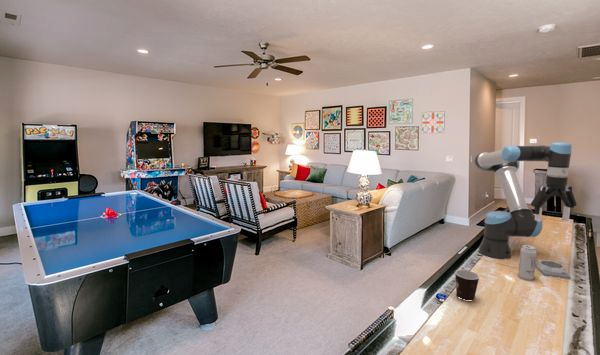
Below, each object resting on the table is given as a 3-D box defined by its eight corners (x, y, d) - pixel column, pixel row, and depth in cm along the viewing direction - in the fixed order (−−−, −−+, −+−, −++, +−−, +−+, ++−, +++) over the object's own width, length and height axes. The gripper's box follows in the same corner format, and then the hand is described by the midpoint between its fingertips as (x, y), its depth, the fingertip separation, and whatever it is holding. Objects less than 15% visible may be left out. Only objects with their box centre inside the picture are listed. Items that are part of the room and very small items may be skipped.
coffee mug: (455, 289, 132) (456, 267, 131) (478, 295, 127) (480, 273, 126) (450, 302, 123) (452, 278, 121) (475, 309, 118) (477, 284, 116)
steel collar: (542, 272, 146) (543, 267, 145) (533, 263, 156) (534, 258, 155) (569, 275, 142) (570, 270, 142) (558, 266, 152) (559, 261, 152)
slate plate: (544, 275, 144) (544, 273, 144) (532, 263, 157) (533, 261, 157) (570, 279, 141) (570, 277, 141) (556, 266, 154) (556, 264, 154)
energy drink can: (528, 282, 139) (532, 250, 136) (514, 276, 144) (518, 245, 142) (536, 279, 141) (540, 248, 139) (522, 273, 146) (526, 243, 144)
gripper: (537, 177, 138) (532, 223, 141) (590, 177, 139) (584, 222, 142) (524, 175, 145) (520, 218, 148) (575, 174, 146) (569, 217, 149)
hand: (551, 220), depth 145 cm, fingers open, 13 cm apart
